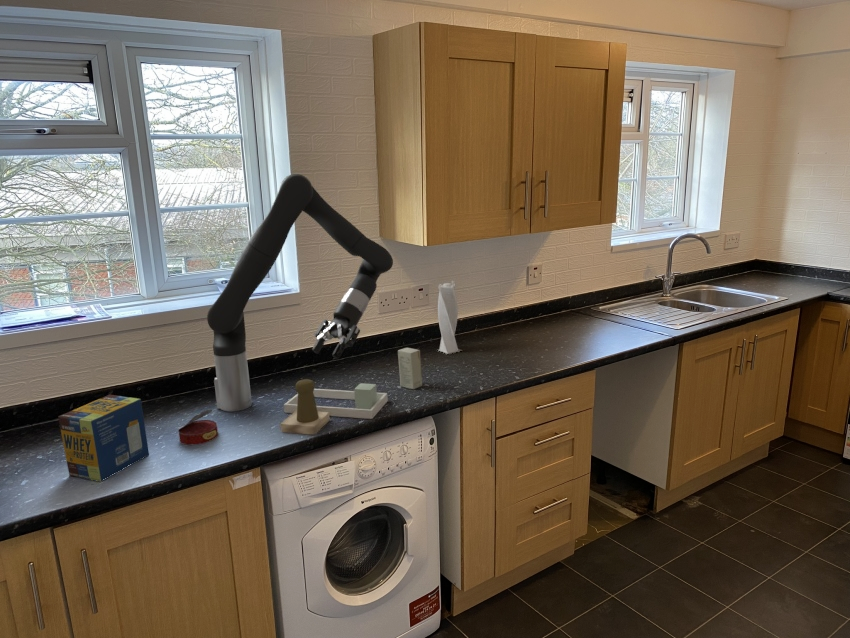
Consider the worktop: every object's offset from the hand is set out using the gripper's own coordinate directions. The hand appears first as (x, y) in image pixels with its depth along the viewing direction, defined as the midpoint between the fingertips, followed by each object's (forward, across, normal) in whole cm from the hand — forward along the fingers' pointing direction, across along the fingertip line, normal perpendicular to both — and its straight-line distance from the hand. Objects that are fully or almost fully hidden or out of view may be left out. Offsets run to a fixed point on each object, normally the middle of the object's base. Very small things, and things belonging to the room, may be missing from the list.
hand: (324, 354), depth 176 cm
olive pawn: (+18, +1, +5) cm, 18 cm away
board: (+19, +1, +6) cm, 20 cm away
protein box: (+51, -21, -24) cm, 60 cm away
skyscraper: (-36, -10, +62) cm, 72 cm away
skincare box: (-10, +3, +36) cm, 37 cm away
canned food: (+35, -18, -9) cm, 40 cm away
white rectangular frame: (+9, -3, +17) cm, 19 cm away
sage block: (+6, +6, +20) cm, 22 cm away
